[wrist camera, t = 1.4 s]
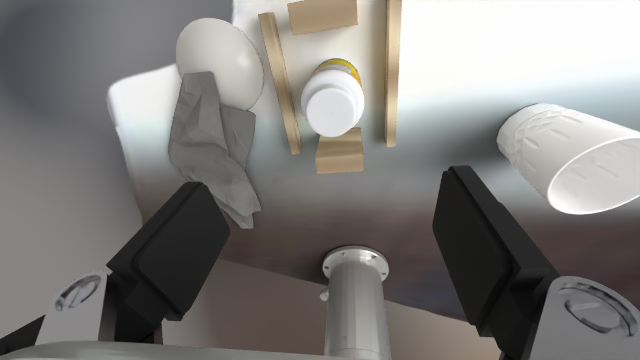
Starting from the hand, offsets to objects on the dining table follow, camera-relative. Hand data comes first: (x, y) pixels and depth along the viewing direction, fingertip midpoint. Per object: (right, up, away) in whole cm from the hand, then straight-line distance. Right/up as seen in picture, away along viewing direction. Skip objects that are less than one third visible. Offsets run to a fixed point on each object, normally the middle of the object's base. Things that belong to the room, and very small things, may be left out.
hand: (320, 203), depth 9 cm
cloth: (-15, +4, +25) cm, 30 cm away
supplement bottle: (+2, +12, +17) cm, 21 cm away
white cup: (+25, +7, +18) cm, 31 cm away
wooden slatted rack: (+2, +12, +17) cm, 21 cm away
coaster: (-11, +14, +17) cm, 25 cm away
